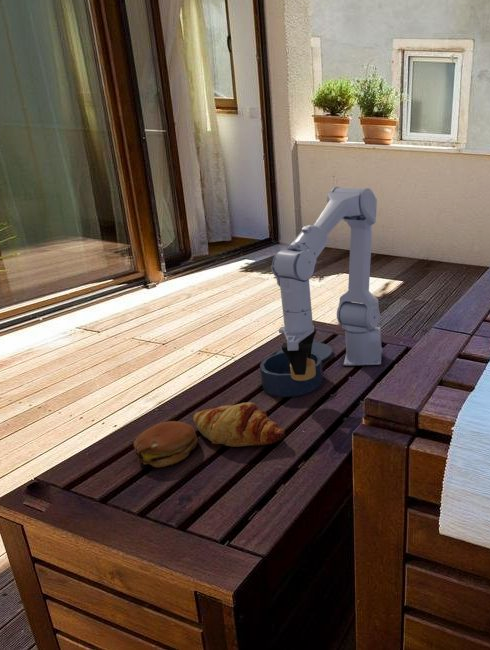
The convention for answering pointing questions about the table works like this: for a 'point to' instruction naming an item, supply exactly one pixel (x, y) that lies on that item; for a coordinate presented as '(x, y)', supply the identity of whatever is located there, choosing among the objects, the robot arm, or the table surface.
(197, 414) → the croissant
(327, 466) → the table surface
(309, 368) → the ball in tan cup
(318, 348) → the lid
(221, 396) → the table surface
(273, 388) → the pot
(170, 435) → the burger
